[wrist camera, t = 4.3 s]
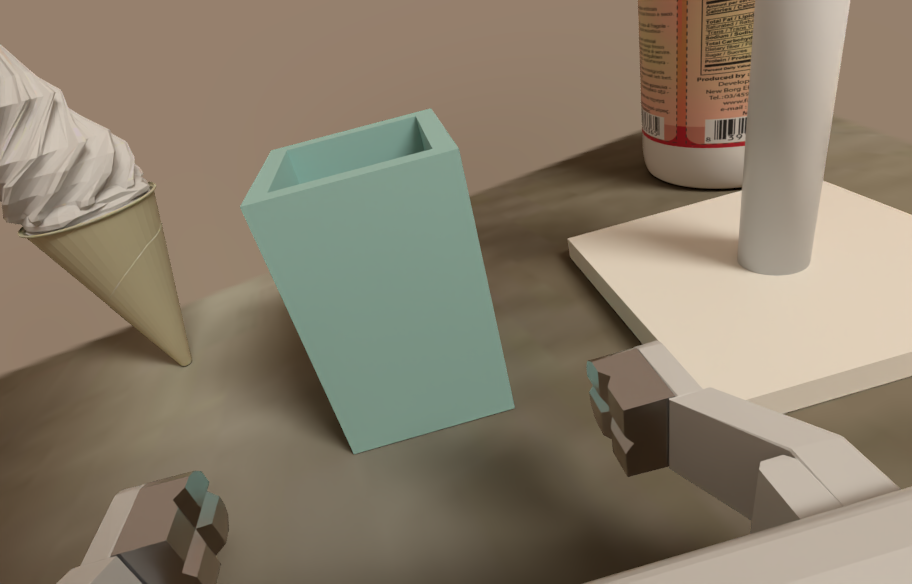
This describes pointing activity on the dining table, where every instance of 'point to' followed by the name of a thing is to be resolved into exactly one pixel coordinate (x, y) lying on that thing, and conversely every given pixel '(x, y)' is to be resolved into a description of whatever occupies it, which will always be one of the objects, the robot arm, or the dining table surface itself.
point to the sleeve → (383, 277)
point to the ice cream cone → (86, 205)
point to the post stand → (772, 246)
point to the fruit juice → (695, 89)
